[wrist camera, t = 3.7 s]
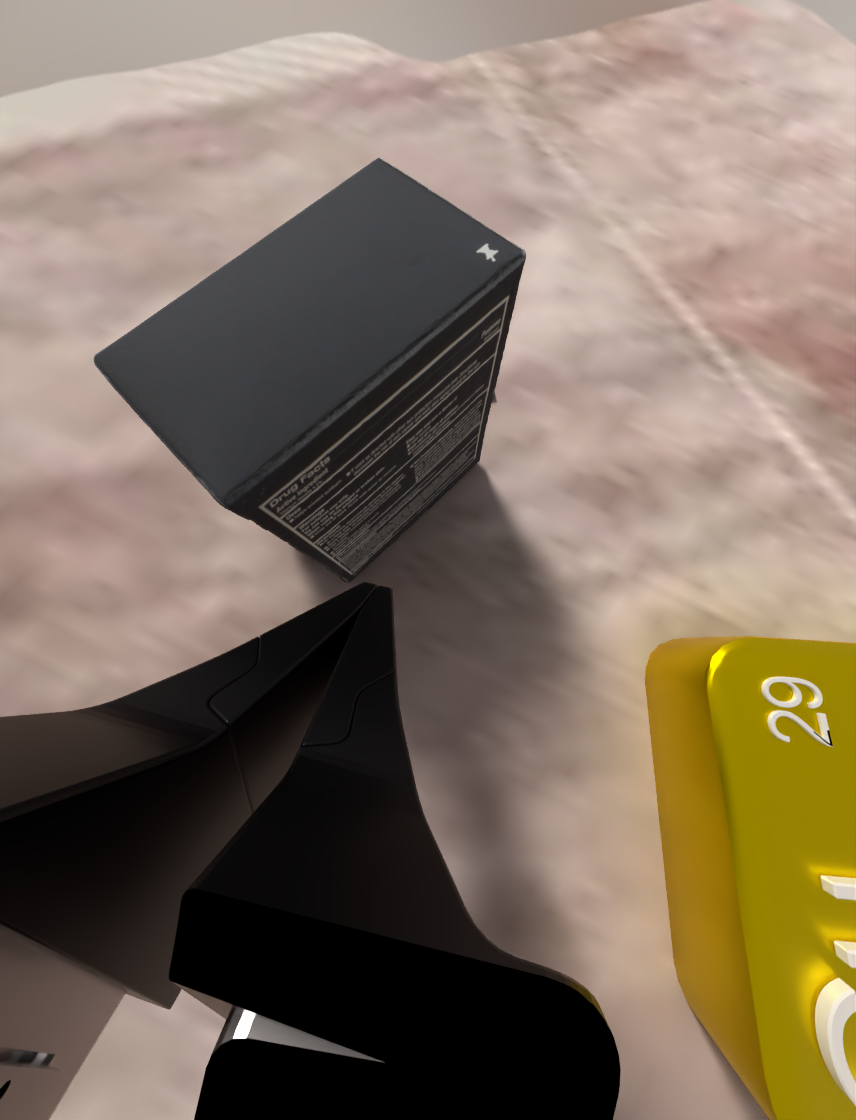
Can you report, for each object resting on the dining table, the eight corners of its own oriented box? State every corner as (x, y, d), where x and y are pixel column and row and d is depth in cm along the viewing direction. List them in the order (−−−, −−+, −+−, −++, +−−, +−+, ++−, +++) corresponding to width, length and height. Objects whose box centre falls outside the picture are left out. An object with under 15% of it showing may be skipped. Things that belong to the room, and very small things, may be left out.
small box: (406, 393, 20) (378, 137, 10) (483, 460, 19) (544, 249, 8) (272, 507, 18) (68, 344, 8) (348, 587, 17) (224, 516, 7)
